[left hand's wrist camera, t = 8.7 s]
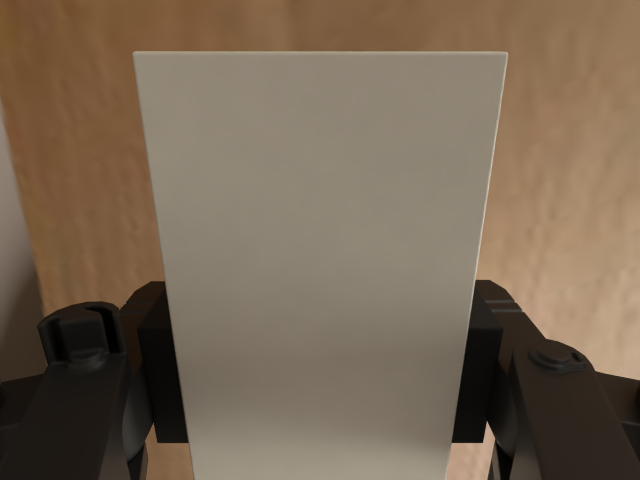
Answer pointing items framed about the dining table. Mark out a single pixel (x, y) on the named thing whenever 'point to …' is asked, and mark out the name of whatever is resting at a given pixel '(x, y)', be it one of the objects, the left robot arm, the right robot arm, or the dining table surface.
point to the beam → (320, 251)
